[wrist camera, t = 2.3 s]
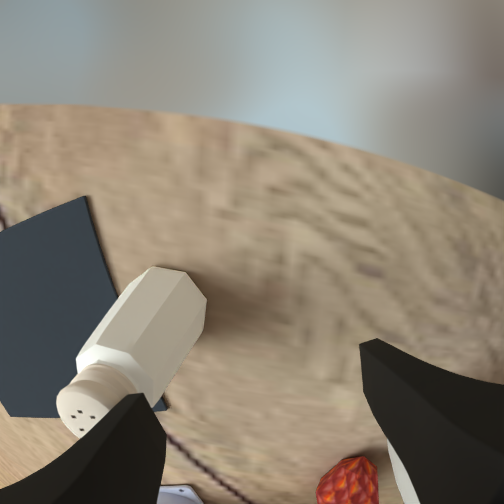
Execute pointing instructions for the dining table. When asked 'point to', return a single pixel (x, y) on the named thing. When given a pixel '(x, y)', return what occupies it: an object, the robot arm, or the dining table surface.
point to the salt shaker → (134, 347)
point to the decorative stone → (349, 483)
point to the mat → (49, 305)
